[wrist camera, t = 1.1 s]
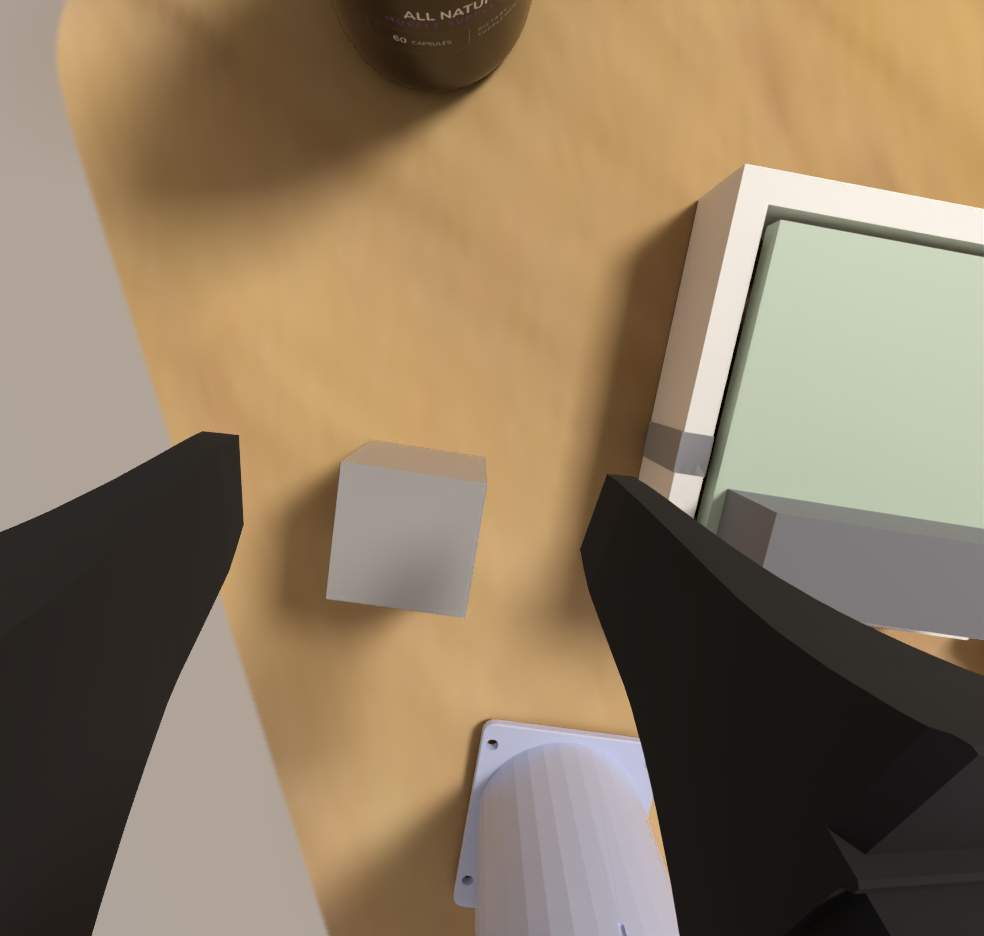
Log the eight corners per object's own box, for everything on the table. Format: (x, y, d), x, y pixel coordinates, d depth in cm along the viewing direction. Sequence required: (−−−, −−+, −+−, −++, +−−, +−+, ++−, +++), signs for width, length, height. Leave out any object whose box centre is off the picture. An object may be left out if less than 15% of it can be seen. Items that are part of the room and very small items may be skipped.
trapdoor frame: (917, 602, 23) (994, 644, 19) (620, 558, 22) (645, 593, 19) (1029, 260, 20) (1140, 238, 17) (697, 198, 20) (743, 163, 16)
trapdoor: (962, 598, 20) (1076, 653, 16) (687, 558, 19) (738, 604, 15) (1071, 282, 18) (1231, 259, 14) (766, 226, 17) (847, 186, 13)
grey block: (468, 562, 22) (465, 617, 17) (360, 546, 22) (325, 598, 17) (485, 456, 21) (487, 483, 16) (372, 439, 21) (340, 461, 16)
